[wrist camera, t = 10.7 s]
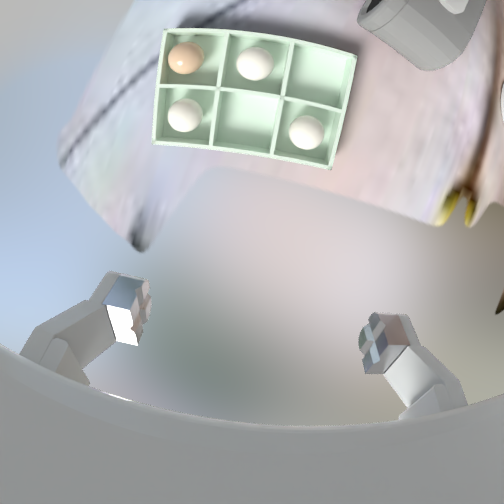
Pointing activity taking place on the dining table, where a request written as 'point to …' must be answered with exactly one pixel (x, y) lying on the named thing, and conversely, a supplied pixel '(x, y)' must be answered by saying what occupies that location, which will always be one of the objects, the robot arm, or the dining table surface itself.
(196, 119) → the cream egg
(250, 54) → the cream egg
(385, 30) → the alarm clock
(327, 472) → the robot arm
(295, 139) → the cream egg
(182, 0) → the dining table surface
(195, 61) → the brown egg
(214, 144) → the egg tray
